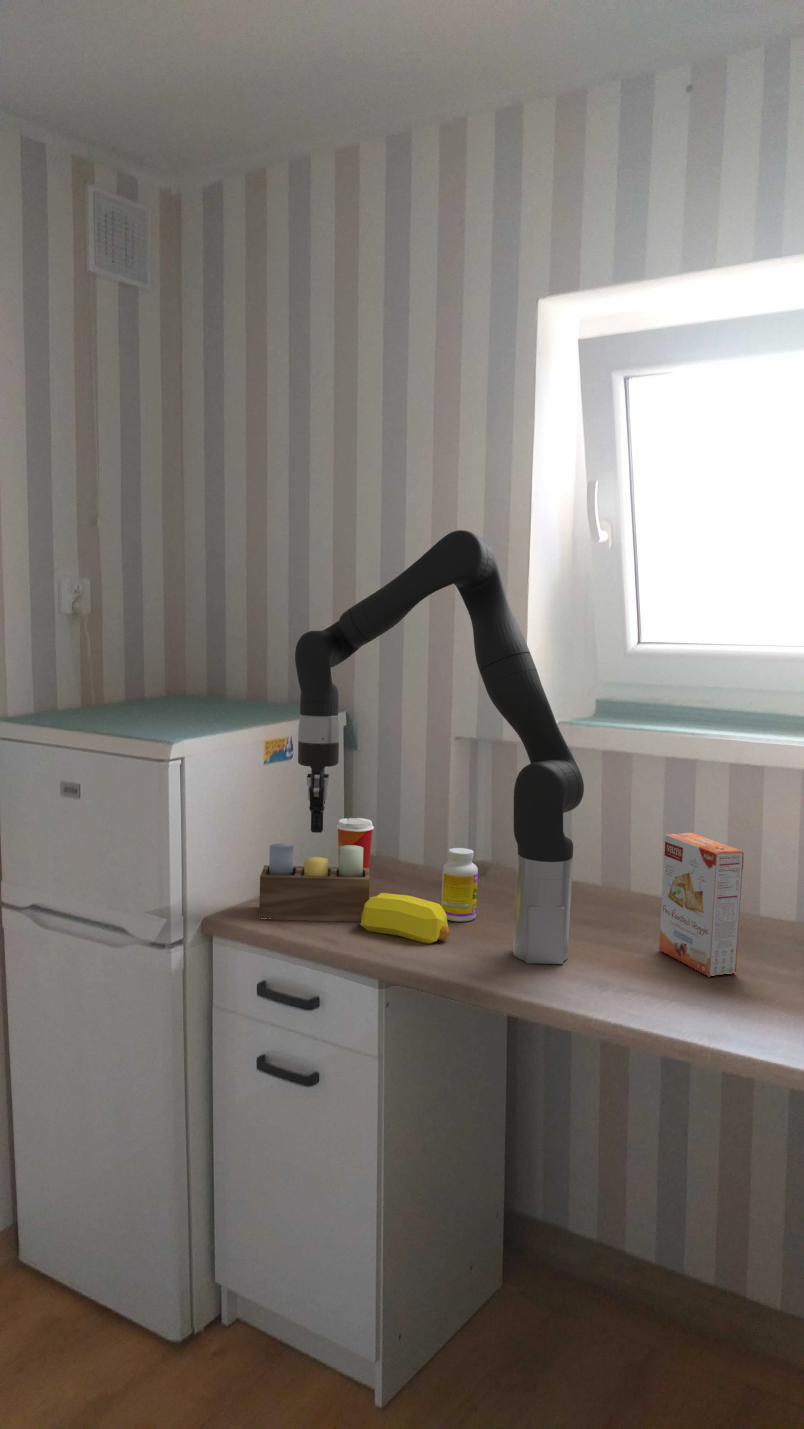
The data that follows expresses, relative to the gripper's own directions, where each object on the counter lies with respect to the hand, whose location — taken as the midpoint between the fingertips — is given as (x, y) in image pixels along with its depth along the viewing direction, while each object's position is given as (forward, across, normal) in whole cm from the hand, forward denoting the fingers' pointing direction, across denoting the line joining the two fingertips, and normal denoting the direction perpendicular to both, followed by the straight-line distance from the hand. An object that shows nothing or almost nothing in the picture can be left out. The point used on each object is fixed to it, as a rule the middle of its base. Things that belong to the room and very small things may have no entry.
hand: (316, 831), depth 196 cm
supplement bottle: (+16, 0, -27) cm, 31 cm away
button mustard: (+11, 0, 0) cm, 11 cm away
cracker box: (+17, -23, -65) cm, 71 cm away
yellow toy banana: (+16, -10, -16) cm, 25 cm away
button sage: (+9, 0, -6) cm, 11 cm away
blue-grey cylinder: (+9, 0, +7) cm, 11 cm away
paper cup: (+16, +19, -7) cm, 26 cm away
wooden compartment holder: (+16, 0, 0) cm, 16 cm away
